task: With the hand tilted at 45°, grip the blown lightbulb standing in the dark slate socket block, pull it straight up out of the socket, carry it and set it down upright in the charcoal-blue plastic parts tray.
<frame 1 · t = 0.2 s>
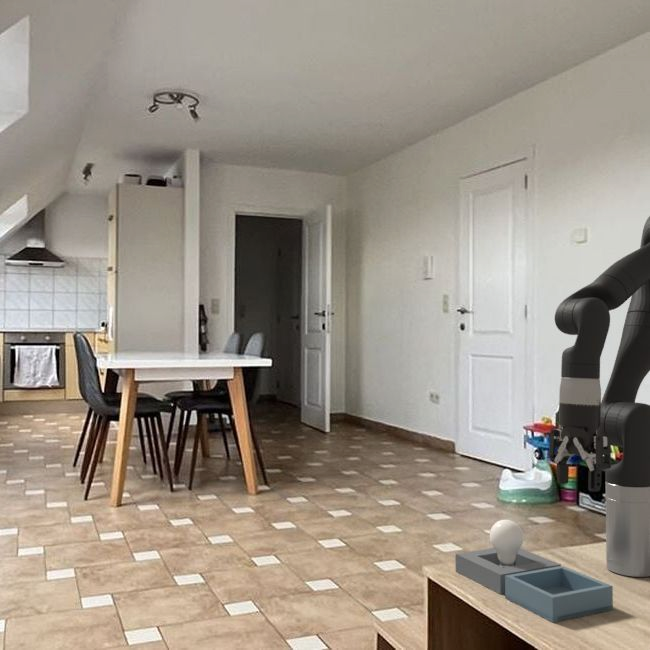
hand: (577, 487, 137), 18 cm above the table, tool pointing down, fingers open, 8 cm apart
lightbulb: (506, 578, 138), resting in socket block
socket block: (506, 577, 138), on the table
parts tray: (557, 603, 124), on the table
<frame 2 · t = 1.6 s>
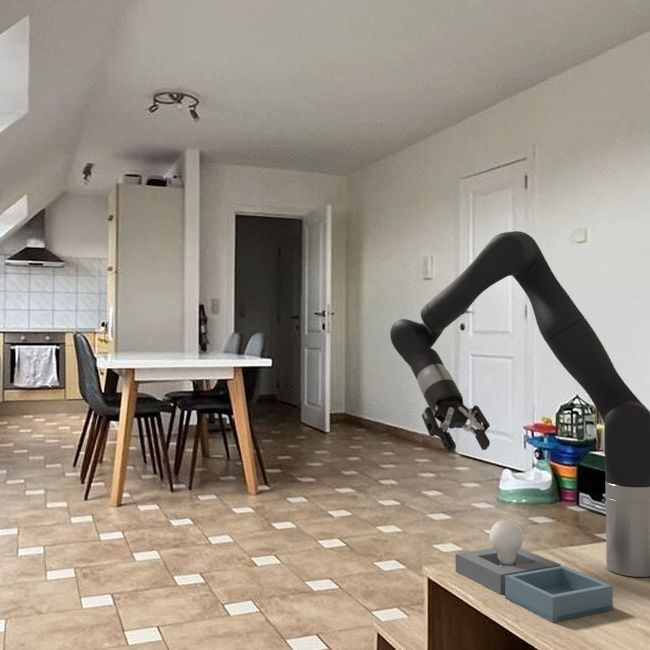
hand: (469, 448, 149), 23 cm above the table, tool tilted 45°, fingers open, 8 cm apart
nothing on the table moved.
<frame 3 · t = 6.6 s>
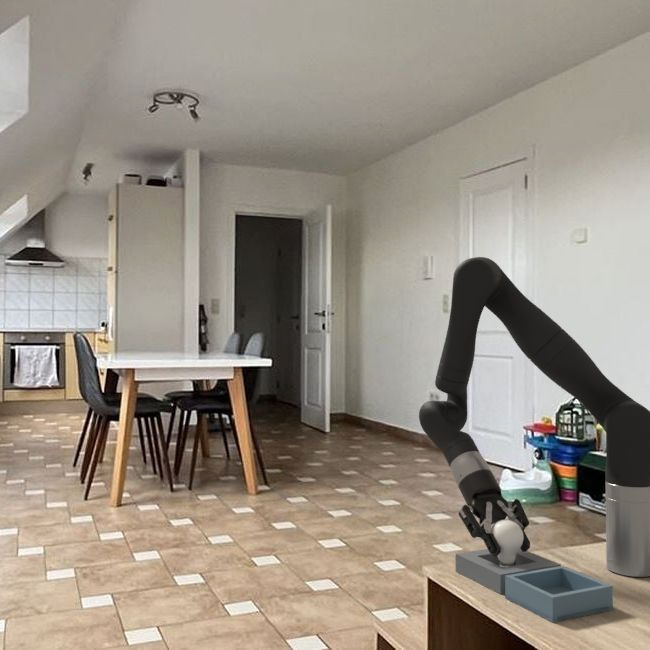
hand: (512, 551, 137), 5 cm above the table, tool tilted 45°, fingers closed on lightbulb, 6 cm apart
lightbulb: (507, 578, 138), resting in socket block, touching gripper
when the fingers open (7 cm above the table, at t = 14.0 s): lightbulb drops 1 cm, resting on parts tray.
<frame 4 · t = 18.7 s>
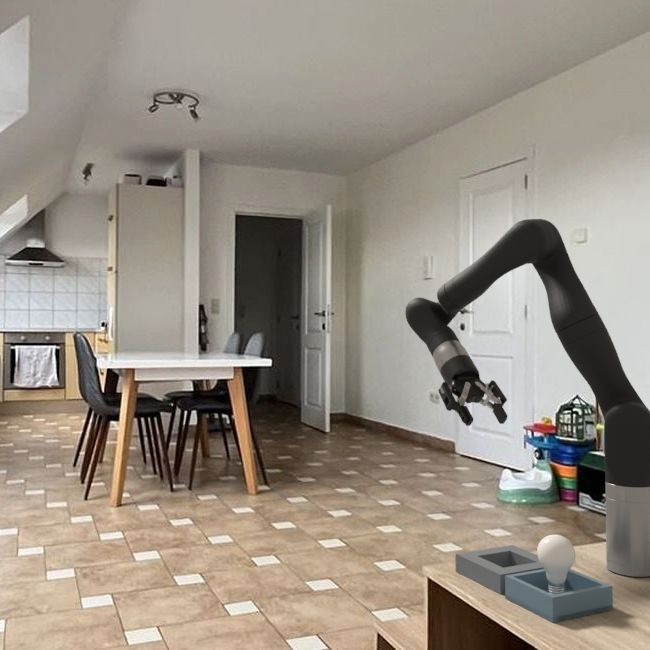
hand: (487, 422, 149), 29 cm above the table, tool tilted 45°, fingers open, 8 cm apart
lightbulb: (556, 600, 125), point 1 cm above the table, touching parts tray
at the end: lightbulb inside the target area on the parts tray (0.2 cm from its centre), point 0.6 cm above the parts tray's base; lightbulb tilted 0°; the gripper is holding nothing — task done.
